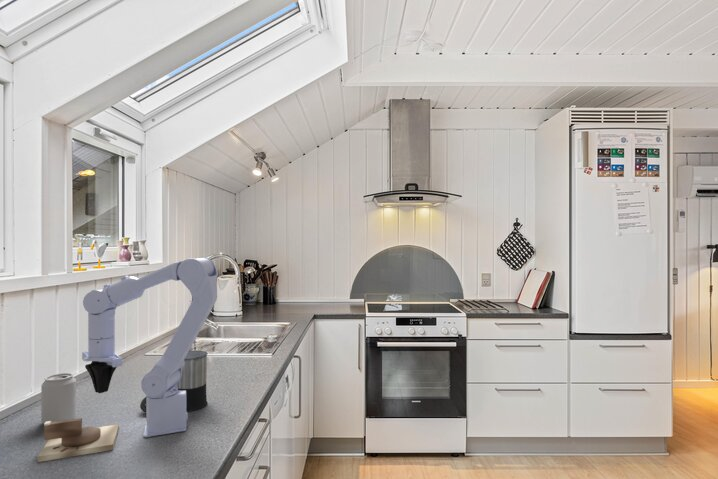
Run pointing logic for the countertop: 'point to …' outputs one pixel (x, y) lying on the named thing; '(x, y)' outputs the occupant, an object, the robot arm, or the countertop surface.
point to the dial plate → (58, 451)
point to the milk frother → (192, 381)
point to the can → (58, 398)
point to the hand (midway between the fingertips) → (101, 391)
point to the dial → (71, 432)
